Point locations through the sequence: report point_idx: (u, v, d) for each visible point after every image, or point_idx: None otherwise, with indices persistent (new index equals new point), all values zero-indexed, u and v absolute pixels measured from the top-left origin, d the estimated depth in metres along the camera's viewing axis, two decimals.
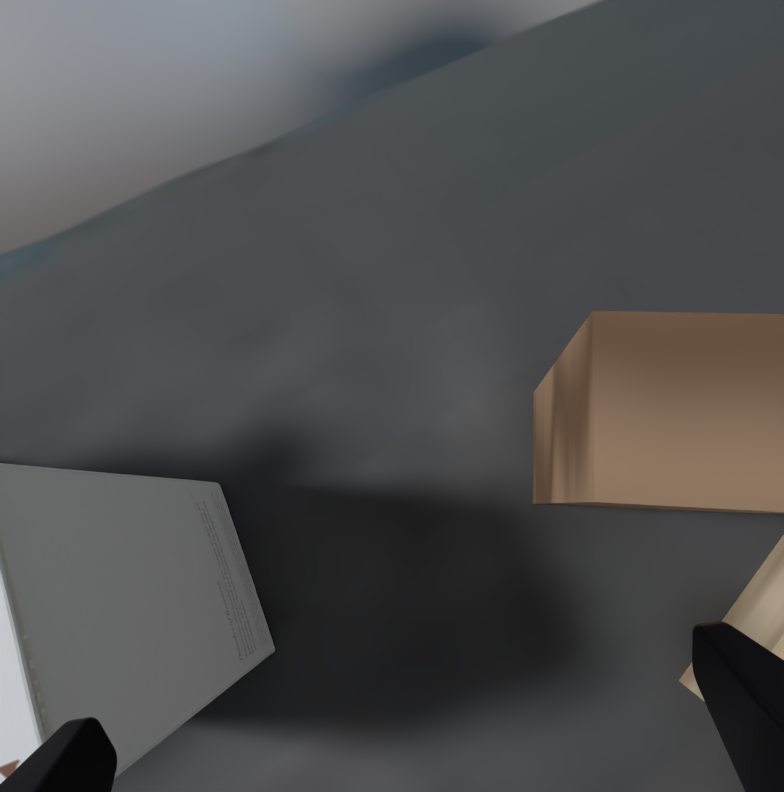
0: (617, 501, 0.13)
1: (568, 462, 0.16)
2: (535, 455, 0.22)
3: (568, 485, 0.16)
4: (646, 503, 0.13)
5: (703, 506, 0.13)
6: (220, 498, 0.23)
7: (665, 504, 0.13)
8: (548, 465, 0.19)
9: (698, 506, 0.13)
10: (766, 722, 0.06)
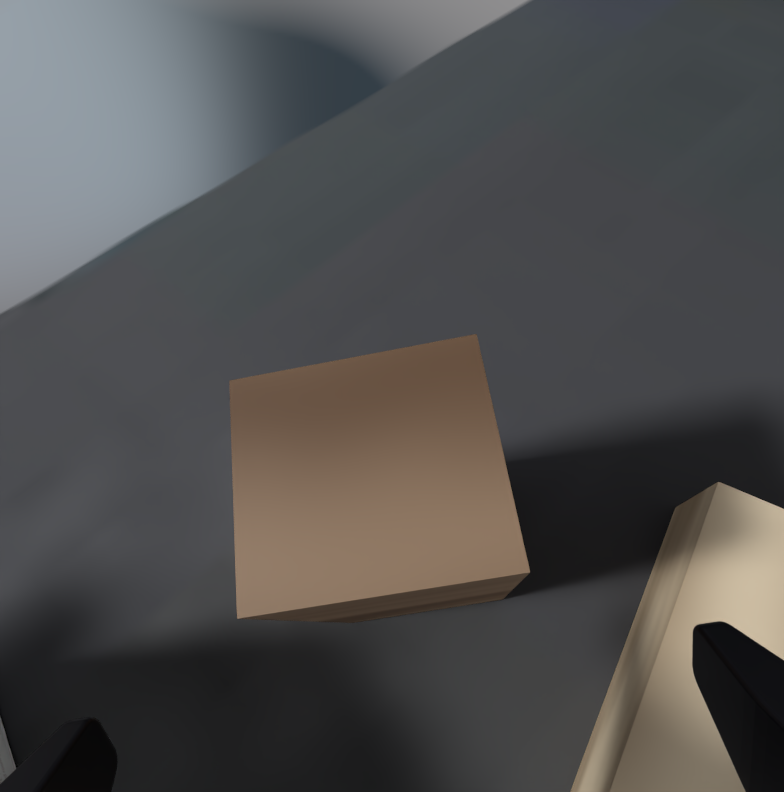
0: (264, 611, 0.10)
1: None
2: None
3: None
4: (299, 606, 0.10)
5: (370, 595, 0.10)
6: None
7: (324, 603, 0.10)
8: None
9: (363, 597, 0.10)
10: (766, 722, 0.06)
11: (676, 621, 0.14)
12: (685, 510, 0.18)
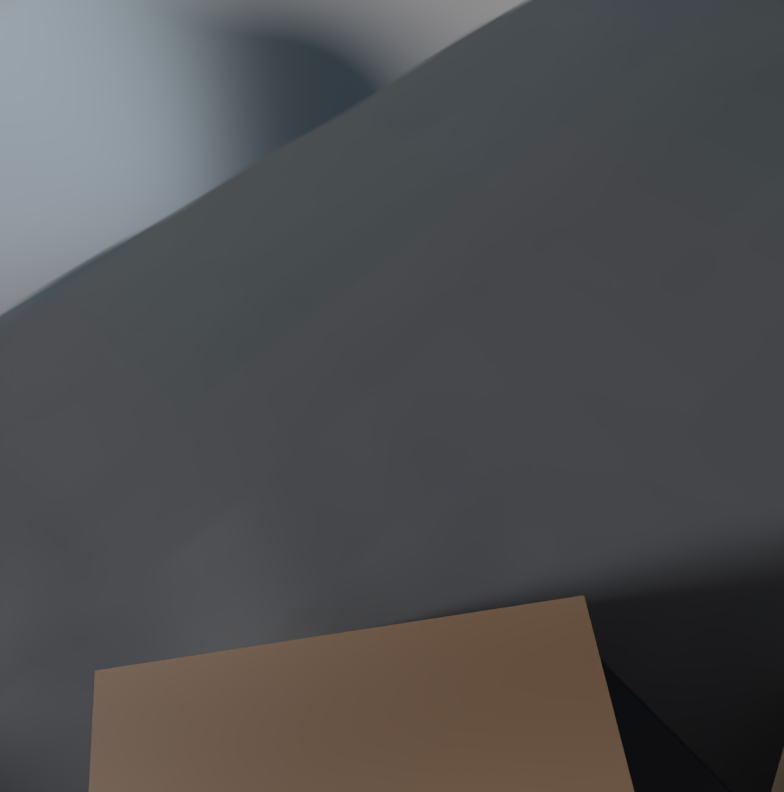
0: None
1: None
2: None
3: None
4: None
5: None
6: None
7: None
8: None
9: None
10: None
11: None
12: None
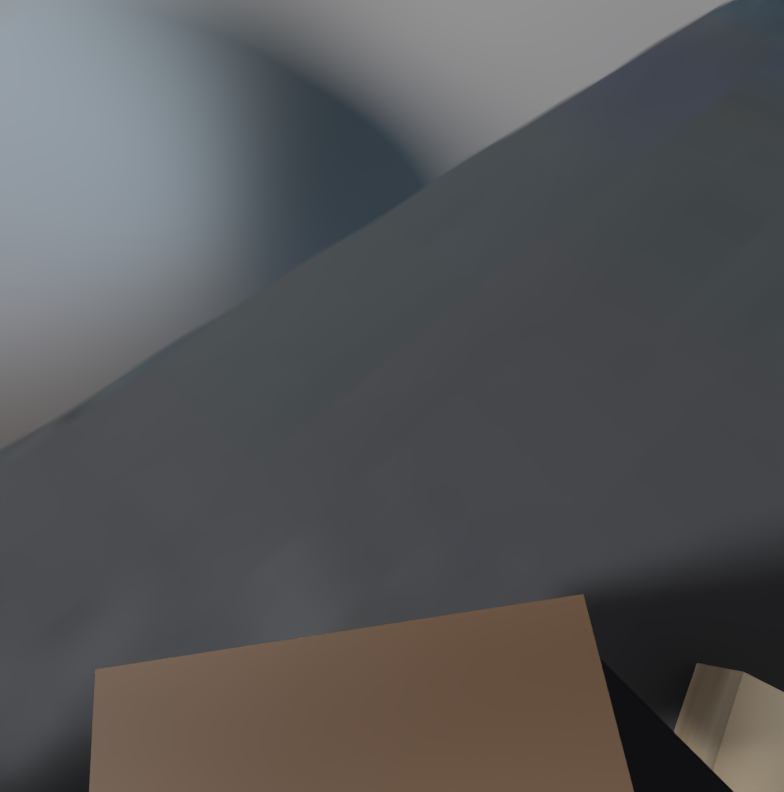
0: None
1: None
2: None
3: None
4: None
5: None
6: None
7: None
8: None
9: None
10: None
11: None
12: (708, 677, 0.18)
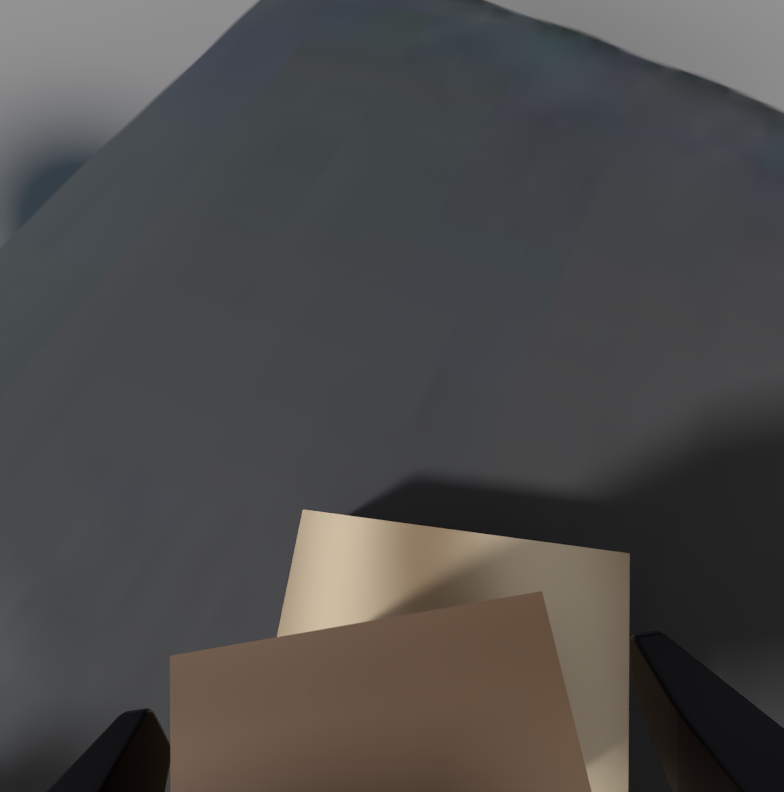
0: None
1: None
2: None
3: None
4: None
5: None
6: None
7: None
8: None
9: None
10: (687, 733, 0.07)
11: None
12: None
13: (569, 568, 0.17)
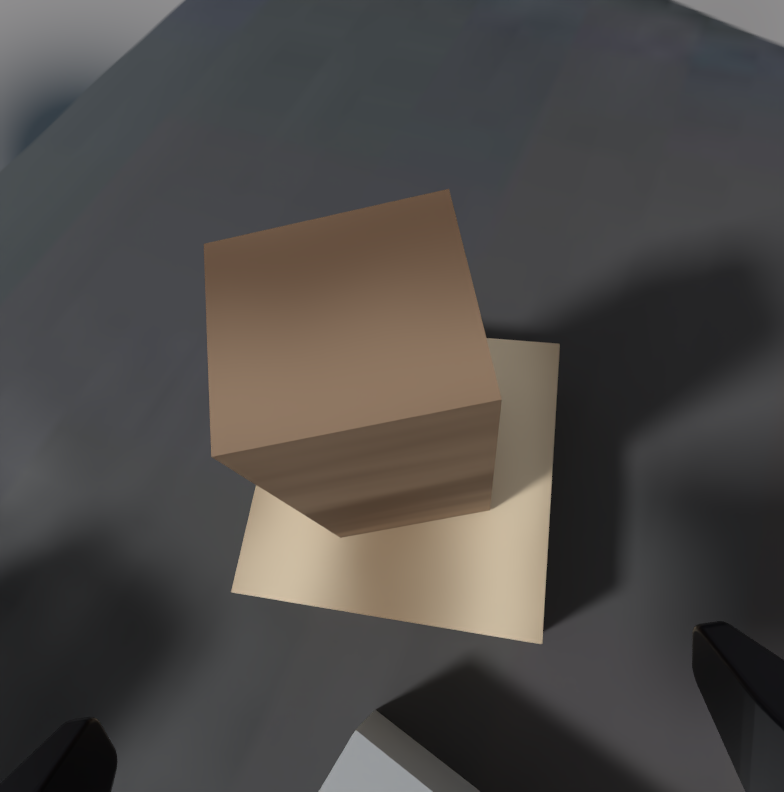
0: (238, 448, 0.10)
1: None
2: None
3: None
4: (273, 442, 0.10)
5: (343, 428, 0.10)
6: None
7: (297, 438, 0.10)
8: None
9: (336, 430, 0.10)
10: (766, 722, 0.06)
11: None
12: None
13: (510, 356, 0.21)
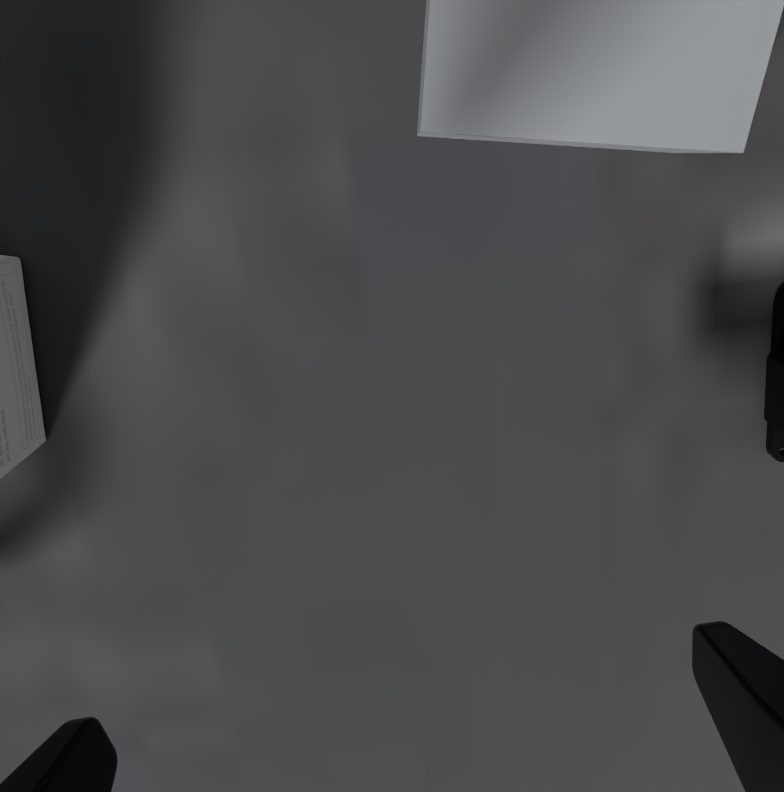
0: None
1: None
2: None
3: None
4: None
5: None
6: None
7: None
8: None
9: None
10: (766, 722, 0.06)
11: None
12: None
13: None
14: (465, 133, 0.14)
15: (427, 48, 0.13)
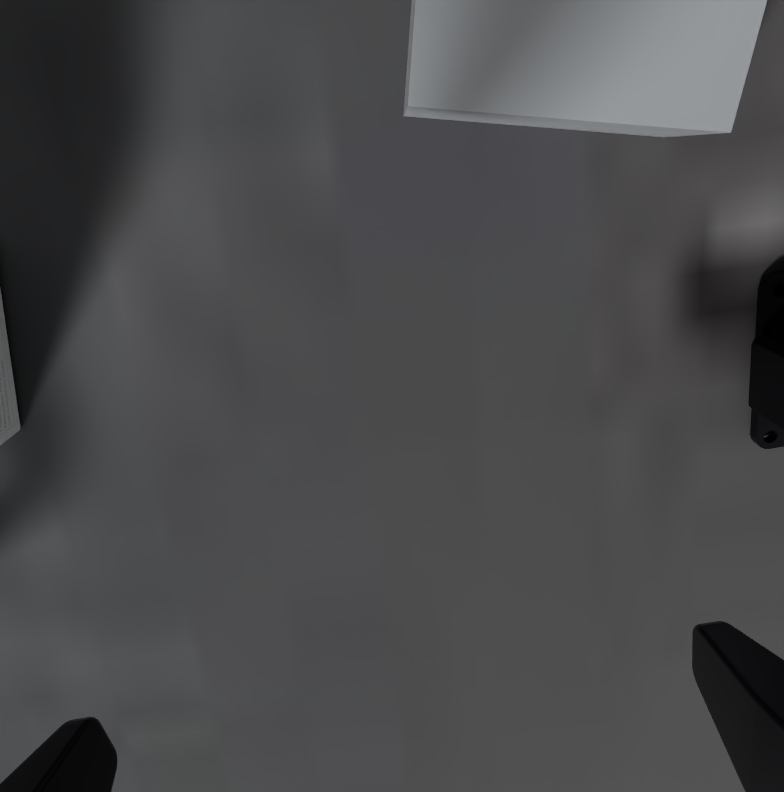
0: None
1: None
2: None
3: None
4: None
5: None
6: None
7: None
8: None
9: None
10: (766, 722, 0.06)
11: None
12: None
13: None
14: (453, 109, 0.14)
15: (415, 20, 0.13)
